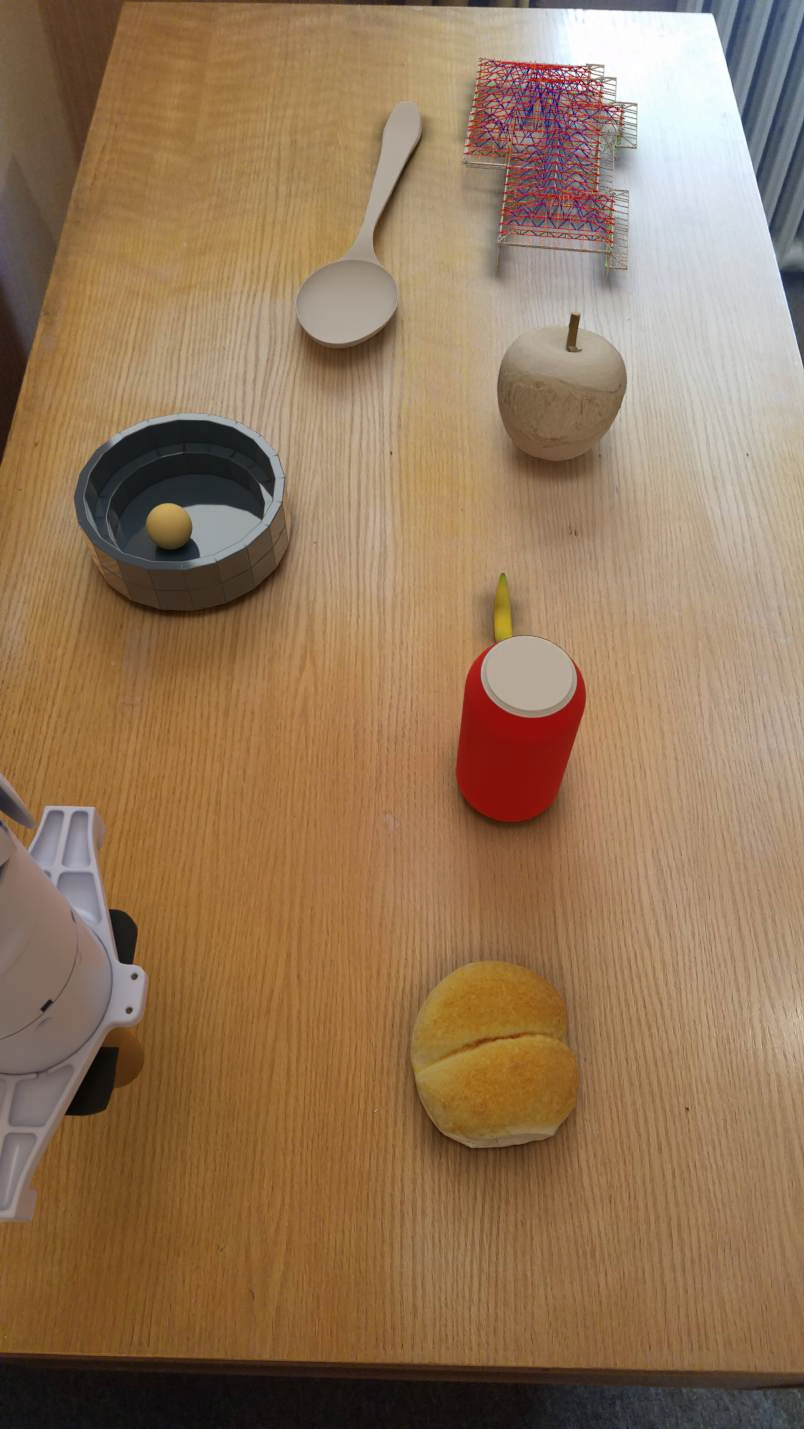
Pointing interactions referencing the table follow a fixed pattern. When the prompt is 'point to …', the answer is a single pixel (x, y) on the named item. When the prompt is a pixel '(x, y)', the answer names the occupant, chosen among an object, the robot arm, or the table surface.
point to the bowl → (209, 486)
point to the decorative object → (560, 390)
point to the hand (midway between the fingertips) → (96, 1047)
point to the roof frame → (595, 165)
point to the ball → (169, 526)
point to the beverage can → (518, 727)
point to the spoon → (361, 255)
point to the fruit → (502, 611)
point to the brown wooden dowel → (125, 1055)
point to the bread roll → (494, 1056)
